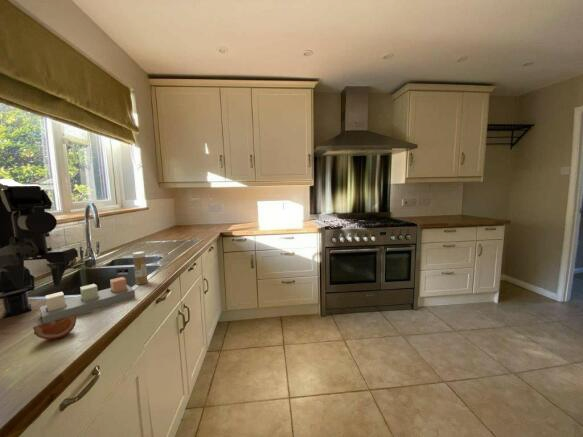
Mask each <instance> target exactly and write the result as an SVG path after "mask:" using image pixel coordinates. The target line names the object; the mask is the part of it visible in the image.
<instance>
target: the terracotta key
mask: <svg viewBox="0 0 583 437" xmlns="http://www.w3.org/2000/svg"><path fill="white" fill-rule="evenodd" d="M109 282H110V283H109V284H110V288H111V292H112V293H117V292H120V291H124V290H127V285H128V284H127V278H125V277H124V276H121V277H116V278H112V279H110V280H109Z"/></svg>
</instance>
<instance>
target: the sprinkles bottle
mask: <svg viewBox="0 0 583 437" xmlns="http://www.w3.org/2000/svg"><path fill="white" fill-rule="evenodd" d="M132 258H133V270H134V277H135V284H136V285H137V284H138V283H139V284H141V285H144V284H147V283H148V271H147V270H148V268H147V262H146V252H145V251H136V252H133V253H132Z"/></svg>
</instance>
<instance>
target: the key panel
mask: <svg viewBox="0 0 583 437" xmlns="http://www.w3.org/2000/svg"><path fill="white" fill-rule="evenodd" d="M98 296H99V298H96V299H92V300H88V301H85V302H83V301H82V298H81V295H80V296H75V297H71V298H68V299H65V305H66V307H64V308H60V309H56V310H53V311H49V312H48V310H47V304H45V305H42V306H39V311H40V316H41V320H42V324H45V323H50V322H54V321H55V320H57V319H60V318H65V317H67V316H70V315H74V314H75V315H76V317H78V316H80V315H85V314H87V313H90V312H94V311H96V310H97V311H98V310H101V309H105V308H106V307H110V306H114V305H116V304H119V303H123V302H126V301H130V300H133V299H136V292H135V289H134V288H133V287H131V286H130V285H128V284H127V290H124V291H120V292H117V293H112V292H111V287H109V288H105V289H101V290H98Z"/></svg>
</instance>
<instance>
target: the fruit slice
mask: <svg viewBox="0 0 583 437" xmlns="http://www.w3.org/2000/svg"><path fill="white" fill-rule="evenodd" d="M76 323H77V316H76V315H75V314H74V315H70V316H67V317H65V318H60V319H57V320H55V321H54V322H50V323H45V324H43V323H42V324H39V325H34V326H33V327H32V329H33V331H34V332H33V334H34V335H36V337H37V338H39V339H44V340H57V339H61V338H64V337H65V336H68V334H70V333H71V332H72V331H73V330H74V327H75V326H76Z"/></svg>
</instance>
